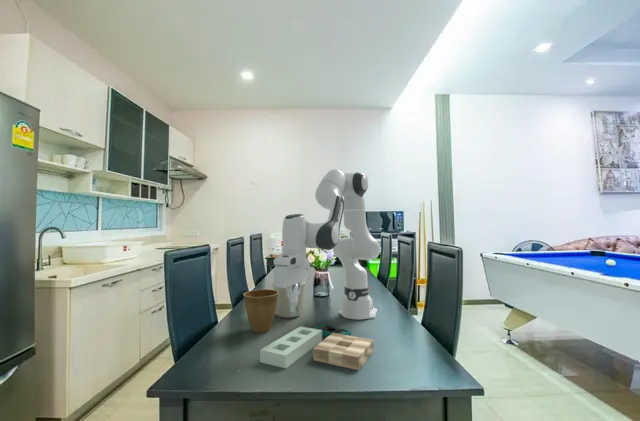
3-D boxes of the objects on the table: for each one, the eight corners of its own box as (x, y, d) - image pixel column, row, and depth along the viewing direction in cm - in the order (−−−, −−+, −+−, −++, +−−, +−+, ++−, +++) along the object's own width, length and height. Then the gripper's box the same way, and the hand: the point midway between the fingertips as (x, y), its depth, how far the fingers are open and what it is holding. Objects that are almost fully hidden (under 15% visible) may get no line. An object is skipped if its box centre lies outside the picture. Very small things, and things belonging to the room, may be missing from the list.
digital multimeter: (323, 329, 132) (323, 322, 132) (351, 337, 122) (351, 330, 122) (312, 334, 126) (312, 327, 126) (341, 343, 117) (341, 335, 117)
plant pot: (259, 322, 140) (259, 287, 141) (285, 328, 133) (285, 291, 134) (235, 332, 128) (235, 294, 128) (262, 338, 120) (262, 298, 121)
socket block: (332, 343, 115) (332, 332, 115) (373, 351, 108) (373, 339, 108) (313, 360, 101) (313, 348, 101) (358, 370, 94) (358, 357, 94)
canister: (313, 313, 155) (313, 272, 156) (292, 323, 140) (292, 277, 141) (286, 308, 165) (286, 269, 166) (263, 316, 149) (263, 273, 151)
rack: (300, 336, 123) (300, 326, 123) (322, 340, 118) (322, 330, 118) (260, 362, 99) (260, 349, 100) (285, 368, 95) (285, 355, 95)
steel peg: (292, 313, 111) (292, 280, 112) (299, 314, 110) (299, 281, 111) (287, 315, 109) (287, 281, 109) (295, 316, 107) (295, 282, 108)
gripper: (300, 255, 121) (300, 290, 120) (270, 260, 103) (270, 301, 102) (314, 256, 118) (314, 292, 118) (286, 261, 100) (285, 303, 99)
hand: (293, 296), depth 110 cm, fingers closed on steel peg, 3 cm apart
